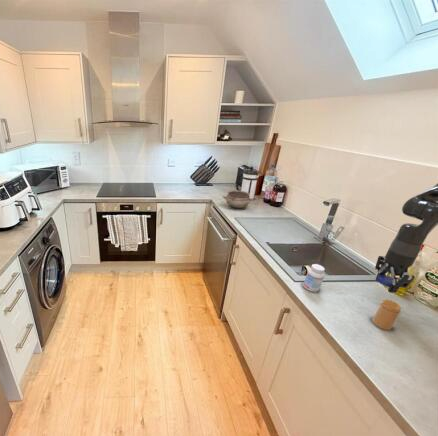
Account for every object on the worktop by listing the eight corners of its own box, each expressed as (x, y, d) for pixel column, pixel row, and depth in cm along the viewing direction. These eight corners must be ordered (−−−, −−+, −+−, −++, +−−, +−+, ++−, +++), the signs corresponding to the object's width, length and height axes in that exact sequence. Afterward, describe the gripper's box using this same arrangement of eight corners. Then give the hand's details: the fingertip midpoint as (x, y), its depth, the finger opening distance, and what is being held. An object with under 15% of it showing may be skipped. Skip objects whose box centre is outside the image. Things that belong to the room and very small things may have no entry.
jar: (383, 319, 89) (394, 300, 86) (395, 330, 85) (406, 310, 81) (368, 317, 90) (378, 298, 86) (379, 329, 85) (390, 309, 81)
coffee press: (253, 196, 224) (259, 165, 212) (255, 202, 210) (262, 168, 198) (234, 195, 228) (239, 164, 216) (235, 200, 214) (240, 167, 202)
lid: (379, 284, 93) (381, 281, 92) (374, 276, 98) (376, 273, 97) (399, 289, 90) (401, 286, 89) (393, 280, 95) (395, 277, 94)
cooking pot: (250, 204, 204) (253, 191, 199) (254, 212, 188) (257, 198, 183) (220, 202, 210) (222, 189, 205) (221, 209, 193) (223, 195, 188)
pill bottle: (300, 282, 109) (307, 262, 104) (315, 284, 108) (322, 263, 103) (306, 291, 104) (313, 270, 99) (321, 293, 102) (329, 272, 98)
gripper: (377, 240, 95) (362, 274, 102) (408, 260, 82) (388, 298, 89) (398, 242, 94) (381, 276, 101) (433, 262, 81) (410, 300, 88)
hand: (384, 286), depth 95 cm, fingers closed on lid, 6 cm apart
